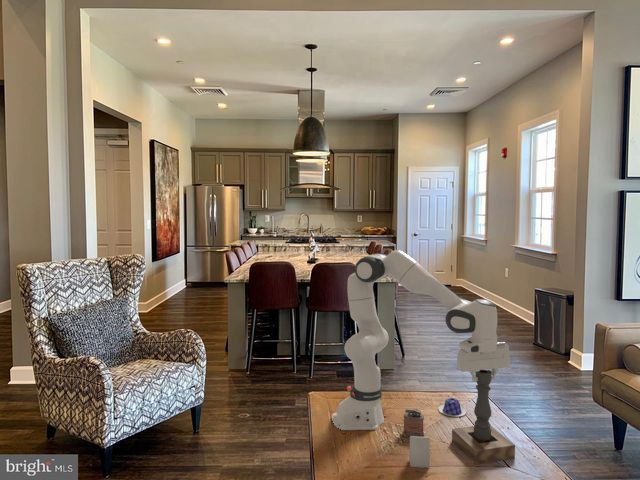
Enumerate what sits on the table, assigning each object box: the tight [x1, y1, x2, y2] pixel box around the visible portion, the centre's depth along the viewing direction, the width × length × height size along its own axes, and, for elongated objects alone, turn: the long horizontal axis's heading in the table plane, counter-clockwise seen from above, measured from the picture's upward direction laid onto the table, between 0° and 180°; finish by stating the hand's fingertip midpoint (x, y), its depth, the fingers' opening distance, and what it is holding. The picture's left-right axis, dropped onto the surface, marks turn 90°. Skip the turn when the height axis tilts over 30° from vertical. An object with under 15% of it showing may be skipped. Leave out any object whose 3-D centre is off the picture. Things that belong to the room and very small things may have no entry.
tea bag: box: [409, 435, 431, 469], centre depth 157 cm, size 4×7×10 cm, turn 81°
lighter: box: [402, 408, 425, 437], centre depth 178 cm, size 8×3×10 cm, turn 71°
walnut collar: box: [451, 425, 516, 465], centre depth 166 cm, size 16×16×5 cm
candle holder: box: [473, 369, 492, 440], centre depth 165 cm, size 6×6×25 cm
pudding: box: [438, 397, 467, 417], centre depth 197 cm, size 12×12×5 cm
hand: (483, 380), depth 164 cm, fingers closed on candle holder, 5 cm apart
